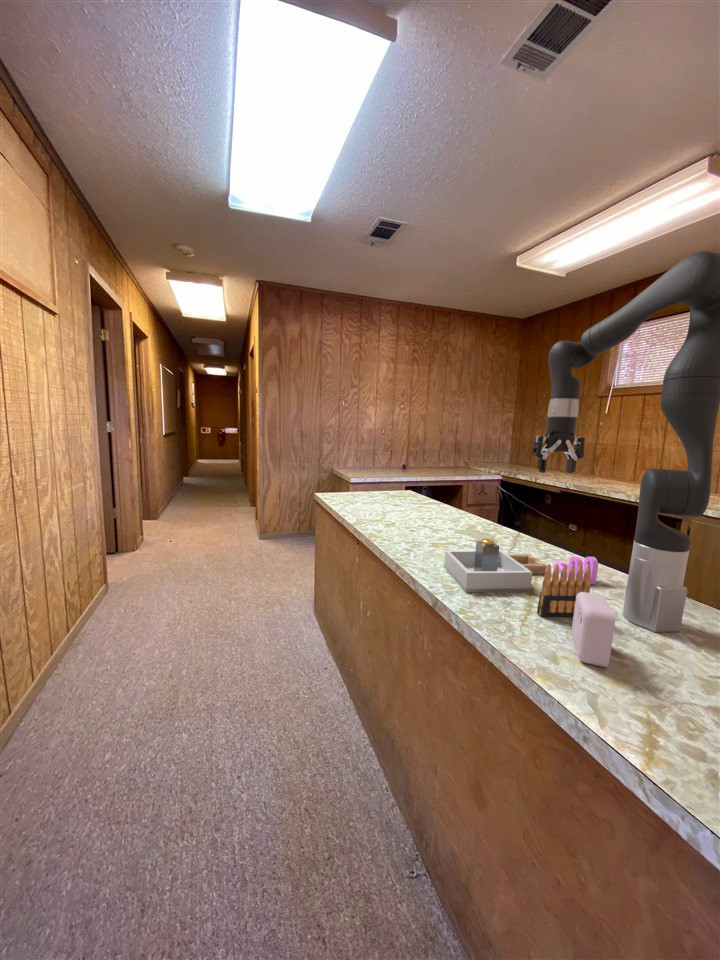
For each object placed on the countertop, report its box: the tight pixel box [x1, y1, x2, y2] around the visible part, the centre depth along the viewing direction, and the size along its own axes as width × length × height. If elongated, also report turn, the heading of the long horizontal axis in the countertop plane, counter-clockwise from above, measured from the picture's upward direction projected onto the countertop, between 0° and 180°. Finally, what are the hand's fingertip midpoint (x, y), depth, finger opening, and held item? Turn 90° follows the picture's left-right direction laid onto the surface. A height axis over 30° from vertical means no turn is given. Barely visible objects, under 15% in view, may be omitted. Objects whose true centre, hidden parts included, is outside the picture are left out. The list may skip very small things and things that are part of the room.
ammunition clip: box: [536, 563, 591, 619], centre depth 83 cm, size 11×2×12 cm, turn 92°
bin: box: [443, 550, 533, 593], centre depth 102 cm, size 16×17×5 cm
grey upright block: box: [474, 538, 500, 571], centre depth 101 cm, size 4×4×10 cm
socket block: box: [506, 553, 548, 575], centre depth 110 cm, size 9×9×2 cm
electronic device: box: [571, 592, 616, 669], centre depth 70 cm, size 10×5×10 cm, turn 159°
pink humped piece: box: [552, 555, 599, 585], centre depth 107 cm, size 13×6×7 cm, turn 2°
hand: (555, 472), depth 109 cm, fingers open, 8 cm apart
